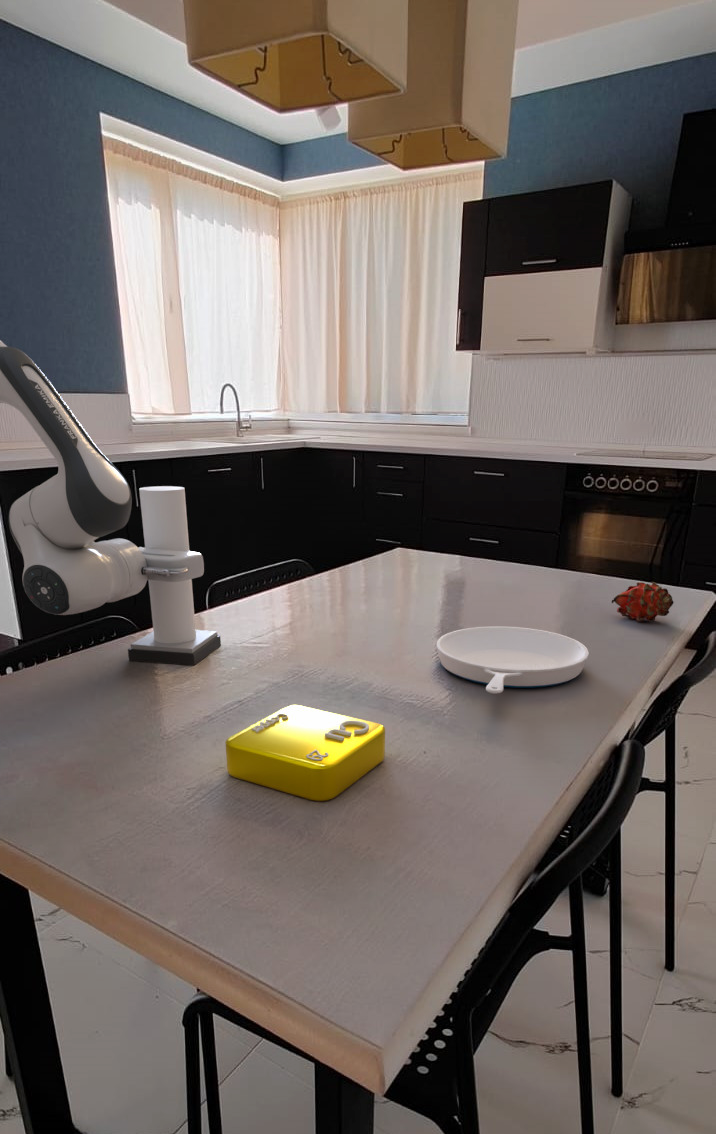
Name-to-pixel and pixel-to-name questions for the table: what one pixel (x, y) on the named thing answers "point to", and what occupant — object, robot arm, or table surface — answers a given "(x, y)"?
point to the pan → (511, 656)
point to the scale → (175, 649)
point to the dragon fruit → (644, 602)
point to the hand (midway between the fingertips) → (169, 554)
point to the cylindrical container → (168, 533)
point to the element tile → (306, 752)
